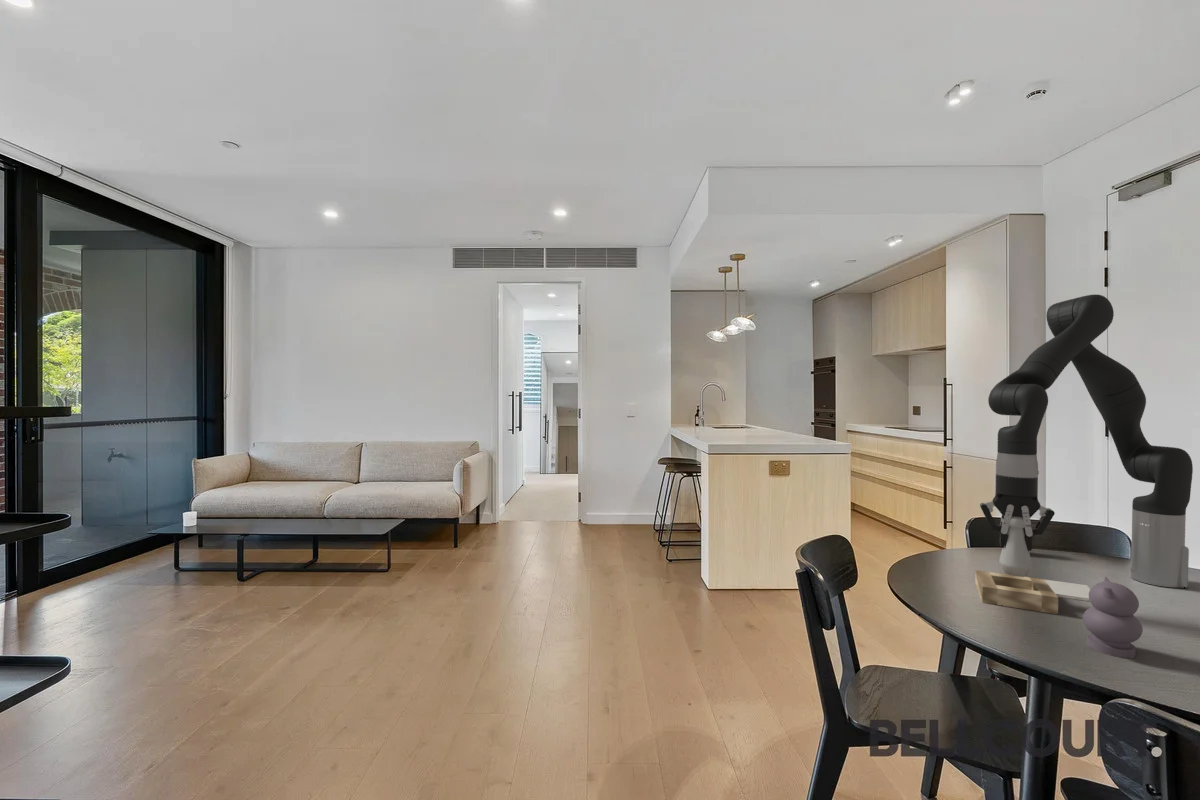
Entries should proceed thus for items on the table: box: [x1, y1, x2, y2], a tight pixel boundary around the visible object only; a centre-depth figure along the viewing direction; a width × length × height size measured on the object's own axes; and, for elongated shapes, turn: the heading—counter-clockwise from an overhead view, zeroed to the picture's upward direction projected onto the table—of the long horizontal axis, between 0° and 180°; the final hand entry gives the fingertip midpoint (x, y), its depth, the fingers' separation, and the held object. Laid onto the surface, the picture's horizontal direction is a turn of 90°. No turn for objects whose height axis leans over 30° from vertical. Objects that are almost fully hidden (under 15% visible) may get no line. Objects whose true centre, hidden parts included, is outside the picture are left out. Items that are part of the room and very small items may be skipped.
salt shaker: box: [998, 517, 1033, 577], centre depth 123 cm, size 6×6×13 cm
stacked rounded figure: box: [1082, 576, 1144, 659], centre depth 99 cm, size 8×8×12 cm
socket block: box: [974, 569, 1059, 615], centre depth 124 cm, size 13×13×4 cm
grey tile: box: [1044, 579, 1091, 602], centre depth 129 cm, size 11×11×1 cm
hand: (1015, 550), depth 124 cm, fingers closed on salt shaker, 3 cm apart
